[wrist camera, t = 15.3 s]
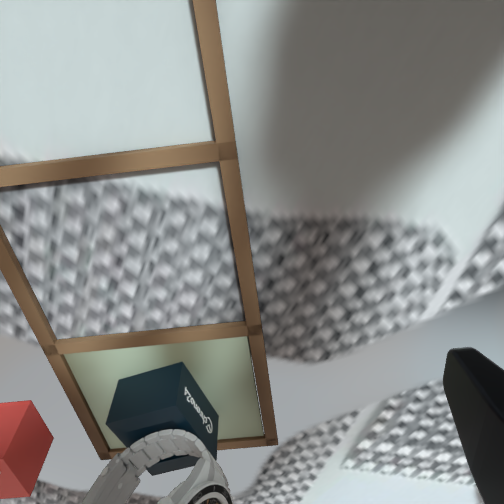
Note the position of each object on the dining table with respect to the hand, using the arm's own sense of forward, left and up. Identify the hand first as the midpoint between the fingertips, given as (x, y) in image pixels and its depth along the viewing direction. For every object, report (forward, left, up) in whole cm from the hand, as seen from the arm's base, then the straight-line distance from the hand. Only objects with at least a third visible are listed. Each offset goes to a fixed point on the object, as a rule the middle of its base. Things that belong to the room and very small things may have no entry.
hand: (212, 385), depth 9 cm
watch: (+6, +16, -13) cm, 21 cm away
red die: (+17, +17, -13) cm, 27 cm away
